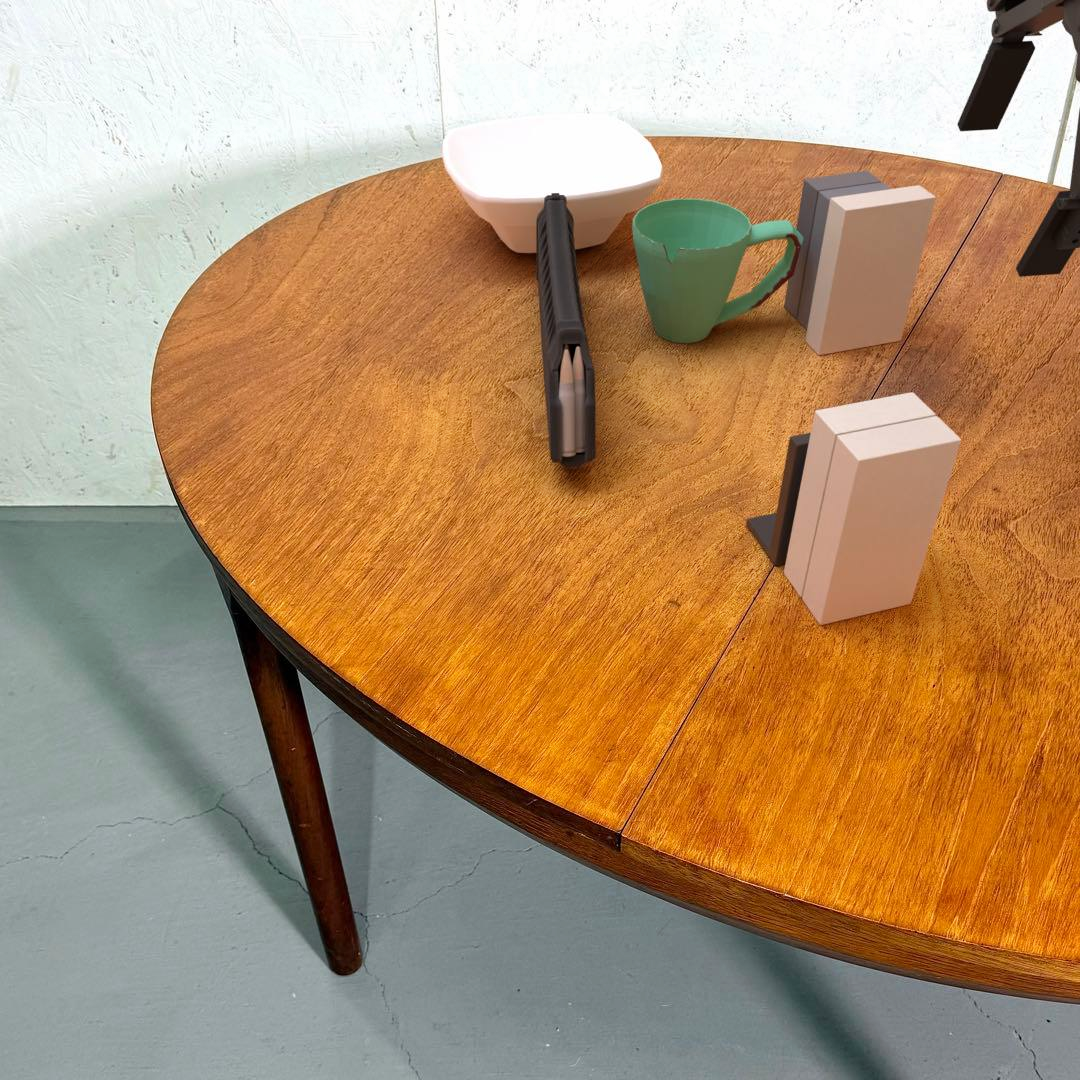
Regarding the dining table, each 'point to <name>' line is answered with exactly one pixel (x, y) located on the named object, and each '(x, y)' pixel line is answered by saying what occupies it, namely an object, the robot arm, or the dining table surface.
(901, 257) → the thin book
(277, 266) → the dining table surface
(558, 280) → the magazine
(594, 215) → the bowl
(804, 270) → the grey books
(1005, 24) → the robot arm
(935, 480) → the white books
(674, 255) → the mug
